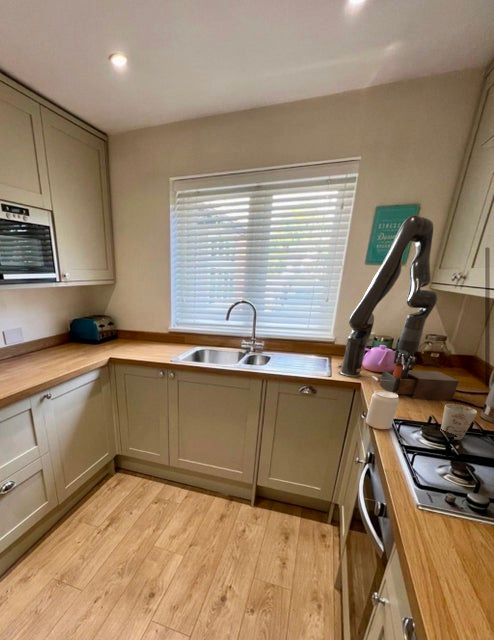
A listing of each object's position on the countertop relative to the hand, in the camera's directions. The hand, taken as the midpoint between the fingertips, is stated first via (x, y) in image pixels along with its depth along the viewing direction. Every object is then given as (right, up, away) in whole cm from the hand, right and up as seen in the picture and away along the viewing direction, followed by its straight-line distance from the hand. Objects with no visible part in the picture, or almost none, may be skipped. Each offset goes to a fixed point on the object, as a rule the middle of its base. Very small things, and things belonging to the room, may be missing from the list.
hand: (399, 375), depth 149 cm
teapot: (+11, +5, +35) cm, 38 cm away
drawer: (0, -6, +2) cm, 7 cm away
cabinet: (+12, -8, +2) cm, 15 cm away
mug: (-5, -23, -35) cm, 42 cm away
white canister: (-28, -20, -31) cm, 46 cm away
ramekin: (0, 0, 0) cm, 0 cm away
